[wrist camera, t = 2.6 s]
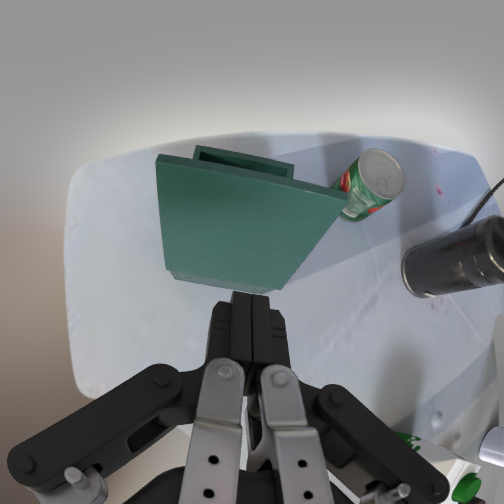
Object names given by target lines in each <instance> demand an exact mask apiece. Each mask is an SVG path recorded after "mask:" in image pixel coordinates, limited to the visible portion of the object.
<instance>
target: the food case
mask: <svg viewBox="0 0 504 504" xmlns="http://www.w3.org/2000/svg"><path fill="white" fill-rule="evenodd" d="M193 159H195V160H201V161H207V162H212V163H218V164H223V165H228V166H233V167H239V168H244V169H249V170H253V171H258V172H263V173H268V174H272V175H277V176H281V177H285V178H290V179H293V173H294V165H293V164H288V163H284V162H280V161H275V160H271V159H266V158H262V157H257V156H252V155H248V154H243V153H238V152H233V151H227V150H222V149H217V148H211V147H205V146H199V145H196V148H195V151H194V155H193ZM170 272H171V274H172V276H173V277H174V279H177V280H182V281H188V282H193V283H199V284H204V285H210V286H215V287H221V288H227V289H233V290H239V291H245V292H251V293H257V294H265V293H267V292H270V291H272V290H274V289H271V288H265V287H259V286H253V285H247V284H241V283H235V282H230V281H224V280H218V279H213V278H207V277H201V276H196V275H191V274H185V273H180V272H174V271H170Z"/></svg>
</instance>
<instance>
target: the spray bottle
mask: <svg viewBox="0 0 504 504" xmlns="http://www.w3.org/2000/svg"><path fill="white" fill-rule="evenodd" d="M479 457H480V458H481V460H484V461H487V462H490V463H493V464H496V465H499V466H502V467H504V428H503V427H498V426H496V427H493V428H492V429H491V430H490V431H489V432H488V433H487V435H486V436H485V438H484V440H483V442H482V444H481V447H480V451H479Z"/></svg>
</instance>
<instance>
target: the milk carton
mask: <svg viewBox="0 0 504 504" xmlns="http://www.w3.org/2000/svg"><path fill="white" fill-rule="evenodd" d="M393 432H395V431H393ZM395 433H396V434H397V435H398V436H399V437H400V438H401V439H402V440H404V441H405V442H406V443H407V444H408V445H409V446H411V447H412V448H413V449H414V450H415V451H416V452H417V453H419V454H420V455H421V456H422V457H423V458H424V459H426V460H427V461H428V462H429V463H430V464H432V465H433V466H434V467H435V468H436V469H437V470H439V471H440V472H441V473H442V474H443V475H445V476H446V478H447V479H448V481H449V484H450V493H449V496H448V497H447V499H446V500H445V501H444V502H442V503H440V504H458V502H462V503H467V502H469V501H470V500H471V499H472V498H473V497H474V496H475V495H476V494H477V492H478V490H479V488H480V486H481V480H480V479H479V478H477V477H475V476H476V475H477V472H478V470H479V468H480V467H481V466H480V465H478V464H477V463H475V462H474V461H472V460H470V459H469V458H467V457H465V456H463V455H461V454H459V453H456V452H454V451H450V450H448V449H446V448H443V447H441V446H438V445H436V444H433V443H431V442H429V441H426V440H424V439H421V438H418V437H415V436H412V435H408V434H403V433H399V432H395Z"/></svg>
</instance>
